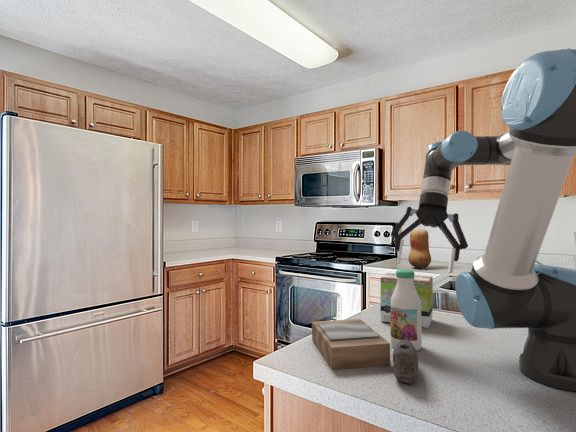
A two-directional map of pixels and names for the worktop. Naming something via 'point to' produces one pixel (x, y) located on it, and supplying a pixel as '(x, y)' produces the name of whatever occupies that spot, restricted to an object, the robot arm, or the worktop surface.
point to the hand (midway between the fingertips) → (423, 267)
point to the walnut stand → (350, 344)
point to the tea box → (423, 289)
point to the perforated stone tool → (405, 362)
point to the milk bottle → (406, 311)
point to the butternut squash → (419, 249)
